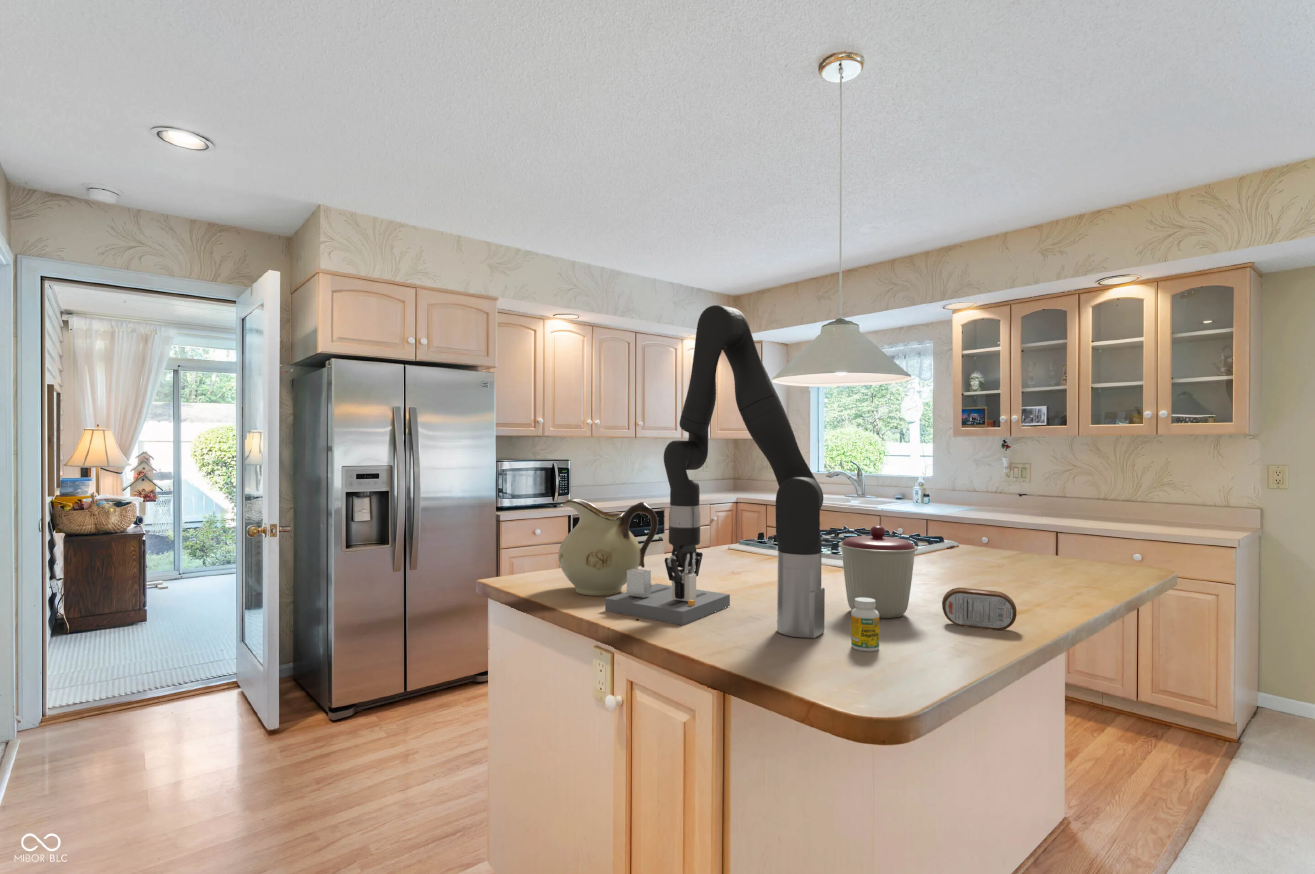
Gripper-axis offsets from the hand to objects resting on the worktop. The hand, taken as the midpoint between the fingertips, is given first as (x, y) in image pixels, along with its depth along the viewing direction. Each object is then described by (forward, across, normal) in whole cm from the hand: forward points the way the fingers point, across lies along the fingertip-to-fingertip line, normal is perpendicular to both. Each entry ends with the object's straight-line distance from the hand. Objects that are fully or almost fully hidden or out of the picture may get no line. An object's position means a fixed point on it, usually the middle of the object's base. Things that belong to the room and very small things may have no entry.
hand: (683, 596), depth 157 cm
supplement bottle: (+4, -2, -44) cm, 44 cm away
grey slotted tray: (+4, +2, +6) cm, 7 cm away
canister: (+4, +28, -37) cm, 47 cm away
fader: (+1, 0, 0) cm, 1 cm away
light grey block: (+1, -3, +11) cm, 11 cm away
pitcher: (+4, +8, +32) cm, 33 cm away
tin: (+4, +29, -59) cm, 66 cm away
